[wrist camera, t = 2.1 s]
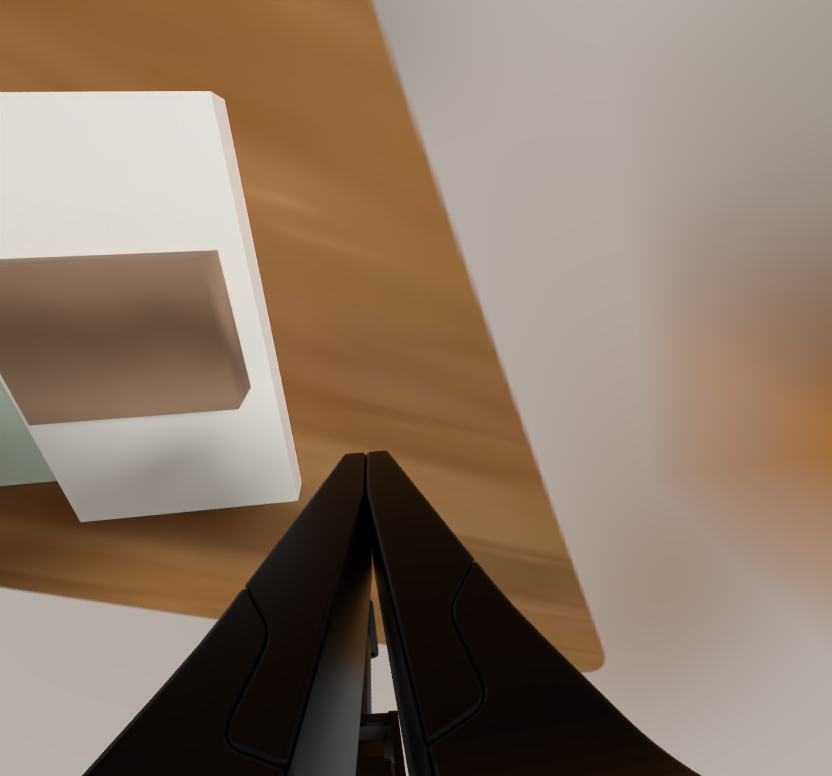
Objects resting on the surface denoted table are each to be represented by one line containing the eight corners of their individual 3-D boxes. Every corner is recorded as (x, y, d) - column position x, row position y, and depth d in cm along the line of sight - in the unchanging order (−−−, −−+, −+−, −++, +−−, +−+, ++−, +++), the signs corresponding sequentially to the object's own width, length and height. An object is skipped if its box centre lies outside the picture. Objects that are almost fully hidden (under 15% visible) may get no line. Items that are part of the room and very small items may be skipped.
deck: (301, 482, 23) (297, 500, 21) (97, 501, 22) (80, 522, 20) (224, 99, 14) (210, 91, 13) (-111, 102, 13) (-163, 93, 12)
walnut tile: (251, 387, 18) (238, 409, 16) (63, 400, 17) (29, 425, 16) (217, 250, 15) (198, 258, 14) (-8, 259, 15) (-59, 269, 13)
